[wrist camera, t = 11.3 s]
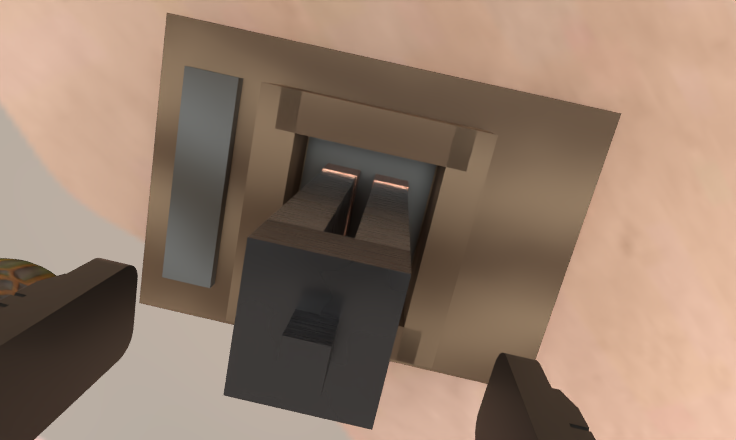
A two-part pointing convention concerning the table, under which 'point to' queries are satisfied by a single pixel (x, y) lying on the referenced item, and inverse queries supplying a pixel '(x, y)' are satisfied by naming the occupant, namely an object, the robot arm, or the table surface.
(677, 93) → the table surface
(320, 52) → the stand
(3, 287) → the vase
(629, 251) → the table surface
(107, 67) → the table surface
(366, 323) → the grey square peg
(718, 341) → the table surface
